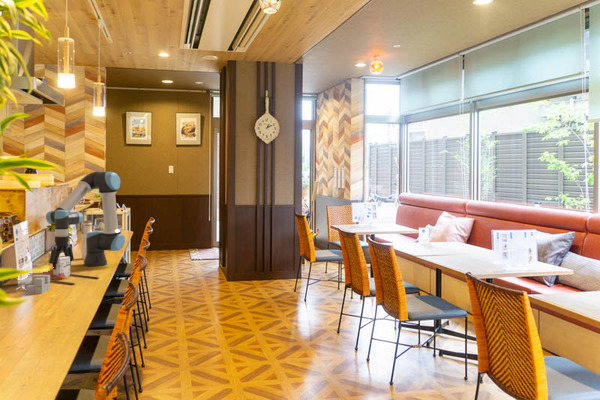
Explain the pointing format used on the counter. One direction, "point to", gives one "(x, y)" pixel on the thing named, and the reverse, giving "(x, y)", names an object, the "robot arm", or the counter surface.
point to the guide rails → (76, 276)
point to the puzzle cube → (38, 284)
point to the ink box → (63, 267)
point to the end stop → (49, 274)
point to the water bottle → (84, 230)
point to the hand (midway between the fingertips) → (61, 273)
